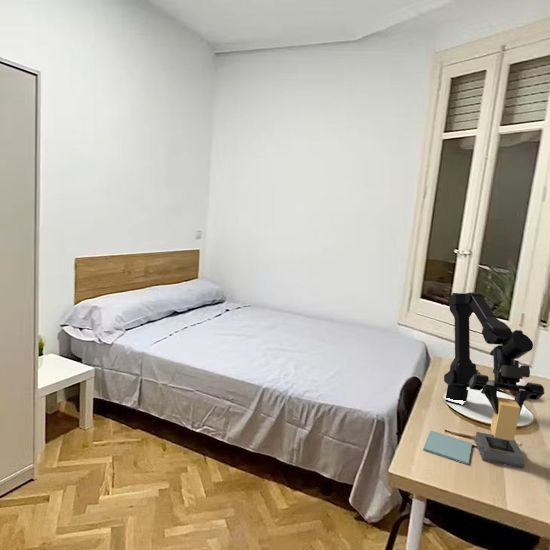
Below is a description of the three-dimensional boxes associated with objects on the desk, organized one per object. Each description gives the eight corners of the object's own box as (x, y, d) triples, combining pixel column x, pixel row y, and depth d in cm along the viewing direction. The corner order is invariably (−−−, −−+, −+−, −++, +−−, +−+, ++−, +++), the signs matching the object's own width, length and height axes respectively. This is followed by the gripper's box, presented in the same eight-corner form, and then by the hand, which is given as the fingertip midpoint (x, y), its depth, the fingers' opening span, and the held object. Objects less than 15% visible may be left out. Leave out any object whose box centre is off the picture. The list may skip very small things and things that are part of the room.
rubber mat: (423, 450, 128) (423, 448, 128) (430, 431, 138) (430, 430, 138) (468, 464, 123) (468, 463, 123) (471, 444, 133) (472, 443, 133)
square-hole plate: (482, 460, 126) (484, 450, 125) (474, 440, 136) (476, 431, 135) (523, 468, 123) (525, 458, 123) (512, 447, 134) (514, 438, 133)
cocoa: (526, 402, 168) (534, 372, 165) (507, 397, 170) (515, 368, 167) (524, 391, 176) (531, 363, 173) (506, 387, 179) (513, 359, 176)
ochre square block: (494, 437, 126) (501, 404, 125) (490, 428, 131) (496, 396, 129) (513, 440, 125) (520, 407, 124) (508, 431, 130) (515, 400, 128)
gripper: (478, 347, 130) (479, 399, 121) (549, 358, 126) (555, 412, 117) (468, 363, 139) (469, 412, 130) (534, 374, 135) (539, 425, 126)
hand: (507, 415), depth 126 cm, fingers closed on ochre square block, 5 cm apart
